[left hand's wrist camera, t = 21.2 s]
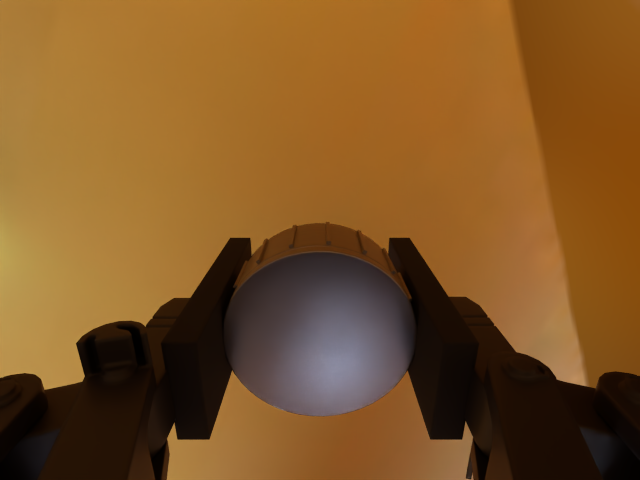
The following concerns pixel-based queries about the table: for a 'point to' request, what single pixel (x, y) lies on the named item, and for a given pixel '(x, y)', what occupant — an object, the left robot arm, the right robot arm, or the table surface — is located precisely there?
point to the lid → (320, 321)
